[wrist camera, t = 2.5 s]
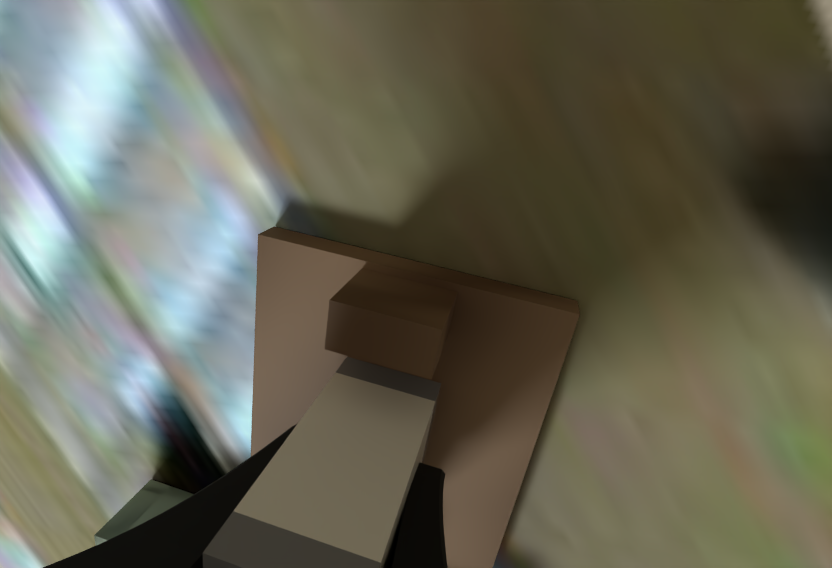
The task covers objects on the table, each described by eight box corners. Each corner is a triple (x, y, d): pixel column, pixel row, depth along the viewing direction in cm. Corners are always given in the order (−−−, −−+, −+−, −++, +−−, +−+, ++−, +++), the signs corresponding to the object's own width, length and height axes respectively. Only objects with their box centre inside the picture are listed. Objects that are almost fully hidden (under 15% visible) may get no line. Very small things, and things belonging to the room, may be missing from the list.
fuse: (441, 383, 12) (363, 612, 7) (413, 505, 14) (334, 764, 9) (346, 356, 13) (202, 553, 7) (331, 478, 14) (206, 710, 9)
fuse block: (577, 300, 11) (588, 358, 9) (484, 573, 15) (474, 667, 13) (274, 226, 13) (208, 259, 10) (261, 497, 17) (211, 569, 14)
